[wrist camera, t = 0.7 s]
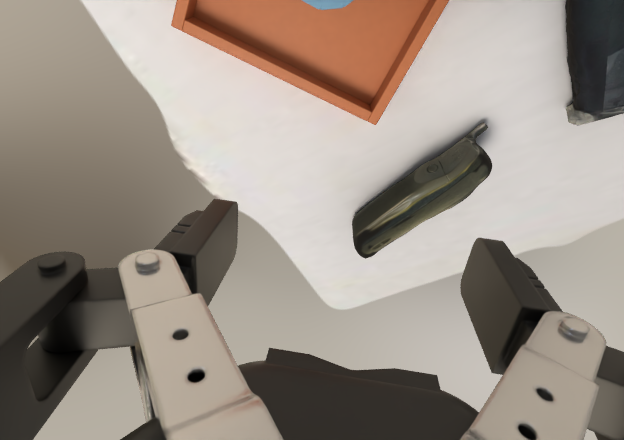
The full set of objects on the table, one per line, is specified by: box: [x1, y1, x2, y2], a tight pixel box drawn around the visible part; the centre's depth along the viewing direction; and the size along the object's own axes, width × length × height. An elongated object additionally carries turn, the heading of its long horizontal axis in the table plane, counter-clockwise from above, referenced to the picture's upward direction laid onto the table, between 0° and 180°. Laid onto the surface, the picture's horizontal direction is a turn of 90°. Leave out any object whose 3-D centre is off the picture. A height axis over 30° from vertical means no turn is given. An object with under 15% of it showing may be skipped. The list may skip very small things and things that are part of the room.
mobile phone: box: [352, 122, 492, 258], centre depth 33 cm, size 5×3×15 cm
